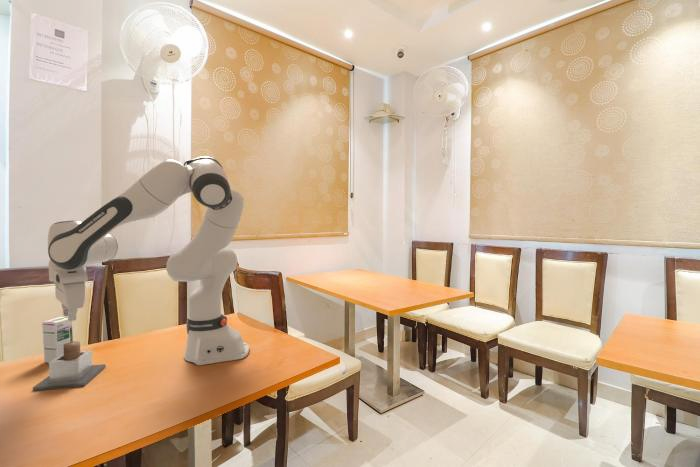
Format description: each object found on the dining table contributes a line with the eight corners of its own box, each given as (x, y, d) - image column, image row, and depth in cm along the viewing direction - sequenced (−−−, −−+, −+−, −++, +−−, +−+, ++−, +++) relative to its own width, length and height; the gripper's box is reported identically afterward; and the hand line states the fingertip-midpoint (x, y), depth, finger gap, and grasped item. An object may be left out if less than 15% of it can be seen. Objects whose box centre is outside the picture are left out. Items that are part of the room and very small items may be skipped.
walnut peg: (83, 373, 107) (82, 342, 106) (69, 379, 103) (67, 347, 103) (76, 371, 109) (75, 340, 108) (61, 376, 105) (60, 344, 104)
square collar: (105, 367, 114) (104, 346, 113) (84, 386, 101) (83, 363, 101) (60, 370, 111) (59, 349, 111) (32, 390, 98) (31, 367, 98)
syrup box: (57, 364, 116) (55, 322, 115) (43, 362, 117) (41, 321, 116) (74, 357, 121) (72, 317, 121) (60, 355, 123) (59, 316, 122)
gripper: (48, 270, 109) (50, 313, 110) (61, 279, 95) (63, 327, 96) (73, 268, 114) (74, 309, 114) (89, 276, 100) (90, 322, 101)
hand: (69, 317), depth 105 cm, fingers open, 5 cm apart
